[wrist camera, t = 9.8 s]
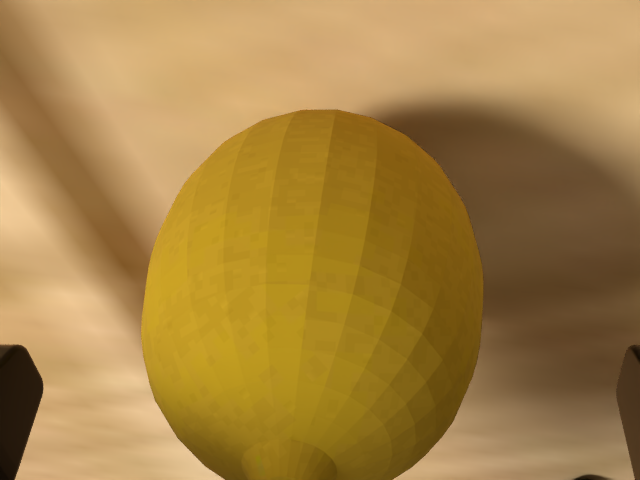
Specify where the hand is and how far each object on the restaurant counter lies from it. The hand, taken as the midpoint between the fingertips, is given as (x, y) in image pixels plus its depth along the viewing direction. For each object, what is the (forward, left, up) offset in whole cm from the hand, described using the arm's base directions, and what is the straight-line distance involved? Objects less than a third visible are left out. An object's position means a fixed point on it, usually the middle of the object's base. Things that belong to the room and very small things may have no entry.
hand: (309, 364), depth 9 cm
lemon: (0, 0, -6) cm, 6 cm away
